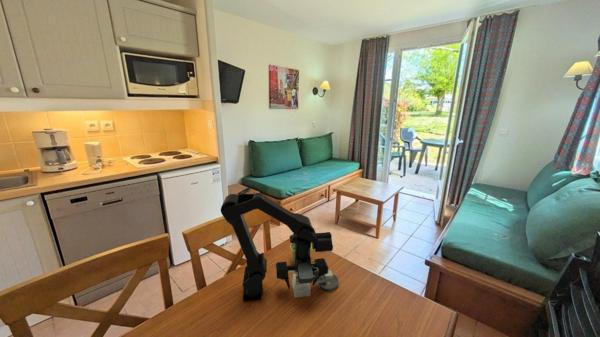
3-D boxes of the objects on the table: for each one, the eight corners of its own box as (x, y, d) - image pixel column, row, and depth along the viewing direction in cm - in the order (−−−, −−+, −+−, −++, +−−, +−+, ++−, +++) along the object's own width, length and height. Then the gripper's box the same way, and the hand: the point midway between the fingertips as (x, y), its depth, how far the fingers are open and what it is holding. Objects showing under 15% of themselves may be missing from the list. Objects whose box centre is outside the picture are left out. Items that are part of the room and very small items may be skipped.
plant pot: (299, 273, 98) (300, 255, 96) (285, 261, 105) (285, 245, 102) (315, 263, 104) (316, 246, 102) (301, 253, 111) (301, 237, 108)
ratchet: (340, 290, 90) (341, 279, 89) (320, 292, 89) (321, 281, 87) (328, 261, 106) (328, 252, 104) (310, 263, 104) (311, 253, 103)
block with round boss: (294, 297, 86) (295, 281, 84) (292, 285, 92) (292, 270, 90) (310, 295, 87) (311, 280, 85) (306, 284, 93) (307, 269, 91)
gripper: (278, 269, 75) (278, 307, 80) (334, 263, 79) (331, 301, 83) (275, 247, 86) (275, 283, 90) (325, 244, 89) (322, 278, 94)
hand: (301, 286), depth 89 cm, fingers open, 9 cm apart
